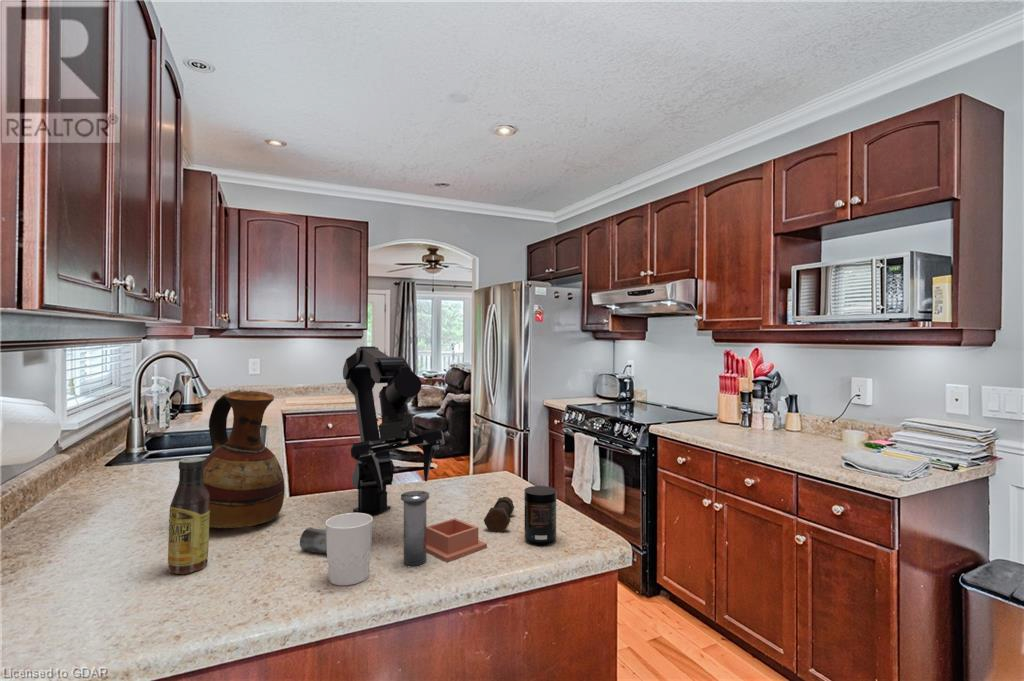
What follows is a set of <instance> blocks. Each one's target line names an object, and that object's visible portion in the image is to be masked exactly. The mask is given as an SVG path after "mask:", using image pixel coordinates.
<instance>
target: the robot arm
mask: <svg viewBox="0 0 1024 681" xmlns="http://www.w3.org/2000/svg"><path fill="white" fill-rule="evenodd" d="M342 379H343V380H345V385H346V388H347V390H349V392H350V393H351V394H352V395H353V397H354V400H355V401H354V402H355V409H356V417H357V422H358V423H357V424H358V429H359V438H360V441H359V442H354V443H352V445H351V447H350V453H351V454H350V456H351V458H352V459H354V460H356V464H355V467H354V470H353V473H352V476H351V480H352V487H354V488H355V489H356V490H357V498H358V499H357V503H358V504H357V507H356V508H354V509H353V508H352V509H353V510H352V513H365V514H369V515H371V516H372V517H373V516H376V515H379V514H381V513H383V512H385V511H388V510H391V505H388V491H387V486H392V484H393V480H394V472H395V467H396V466H395V465H394V463H393V460H392V459H391V454H390V451H393V450H398V449H403V448H409V447H414V446H418V445H422V454H423V460H422V461H423V477H424V478H423V479H424V482H428V480H429V474H430V471H431V470H430V469H431V464H432V460H433V458H434V455H435V451H438V450H440V446H442V445H445V443H446V442H445V437H444V432H443V430H442V429H441V428H439V427H434V428H428V429H424V430H422V432H421V435H416V436H413V435H412V431H414V430H415V420H414V417H413V416H414V415H413V413H410V412H409V405H408V404H410V403H411V401H412V400H413V399H414V398H415V397H417V396H418V394H419V393H420V392H421V390H422V381H421V380H420V378H419V376H418V375H417V374H416V373H415V372H414V371H413V370H412V369H411V367H410V365H409V364H408V362H407V361H406V359H405V358H404V357H403V356H389V355H387V354H386V353H385V352H382V351H381V350H380V349H379V347H376V346H365V345H364V346H363V345H362V346H359V347H357V348H356V350H355V352H354V353H353V354H351V355H350V356H348V357H347V358H346V359H345V362H344V364H343V368H342ZM376 384H386V385H385V386H382V388H381V390H380V391H379V392H378V398H379V404H380V413H381V414H380V415H381V423H380V424H378V419H377V411H376V406H375V400H374V392H373V389H374V387H375V385H376Z"/></svg>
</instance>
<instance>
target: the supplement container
mask: <svg viewBox="0 0 1024 681" xmlns="http://www.w3.org/2000/svg"><path fill="white" fill-rule="evenodd" d="M557 492H558V490H557V489H556V488H554V487H552V486H546V485H534V486H528V487H526V488H525V489H524V497H523V499H524V523H523V524H524V529H523V530H524V535H523V536H524V540H525V541H526V542H527V544H530V545H533V546H538V547H539V546H540V547H541V546H543V547H544V546H549V545H550V546H551V545H552V544H554V543H555V541H556V540H557V498H558V497H557V494H558V493H557Z"/></svg>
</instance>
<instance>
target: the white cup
mask: <svg viewBox="0 0 1024 681" xmlns="http://www.w3.org/2000/svg"><path fill="white" fill-rule="evenodd" d="M373 519H374V518H373V516H371V515H369V514H365V513H357V512H346V513H341V514H337V515H336V514H335V515H334V516H331V517H330V518H328V519H326V521H325V530H326V548H327V554H326V559H327V560H326V561H327V566H328V567H327V568H328V569H327V570H328V572H327V575H328V581H329V582H330V583H331V584H333V585H335V586H352V585H357V584H359V583H361V582H363V581H365V580H366V579H368V577H369V574H370V562H371V555H372V554H371V553H372V538H373V521H374V520H373Z"/></svg>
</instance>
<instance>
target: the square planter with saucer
mask: <svg viewBox="0 0 1024 681" xmlns="http://www.w3.org/2000/svg"><path fill="white" fill-rule="evenodd" d="M487 545H488V543H486V542H485V541H482V540H479V526H475V525H473V524H470V523H468V522H465V521H463V520H461V519H458V518H457V517H456V518H455V517H454V518H450V519H448V520H444V521H441V522H437V523H434V524H431V525H428V526H427V525H426V553H427V552H428V553H427V554H429V553H430V554H429V555H431V554H432V556H433V555H434V556H433V557H435V556H436V557H435V558H437V557H438V558H437V559H439V558H440V559H439V560H441V559H442V560H441V561H443V560H444V561H443V562H445V561H446V562H445V563H449V562H452V561H454V559H455V560H457V559H460V558H462V557H466V556H467V555H470V554H472V553H475V552H479V551H481V550H483V549H484V550H485V549H487V548H488V546H487ZM451 560H452V561H451Z"/></svg>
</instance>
